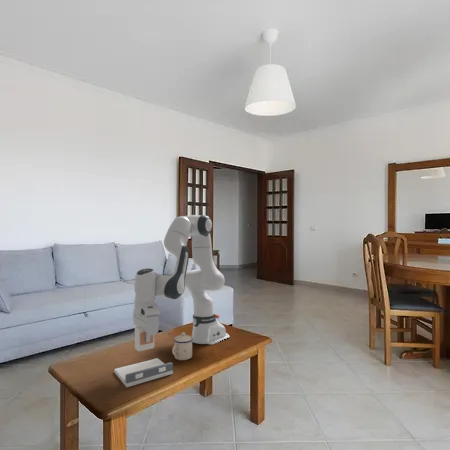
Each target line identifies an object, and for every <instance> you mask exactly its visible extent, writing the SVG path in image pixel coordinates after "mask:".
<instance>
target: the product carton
mask: <svg viewBox="0 0 450 450" xmlns="http://www.w3.org/2000/svg"><path fill="white" fill-rule="evenodd" d="M145 337H146V332H145V331H143V329H142V328H140V327H139V326H138V327H137V326H135V327H134V349H135V350H136V351H137V352H143V351H146V350H151V349H155V334H153V335H151V337H150V342H146V341H145Z"/></svg>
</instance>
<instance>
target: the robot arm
mask: <svg viewBox="0 0 450 450" xmlns="http://www.w3.org/2000/svg"><path fill="white" fill-rule="evenodd" d="M168 227H169V228H168V230H166V231H167V232H166V234H165V236H164V239H163V246H164V248H165V249H166V251H167V252H169V253H170V254H171V255H173V256H175V257H176V261H175V266H174V271H173V273H172V274H171V275H169V274H168V275H167V274H166V275H163V274H159V273H157V272H155V270H154V268H142V269H139V270H138V271H137V272H136V274H135V277H134V294H135V296H134V300H133V301H134V302H133V303H134V305H133V307H134V308H133V312H132V315H133V316H132V324H133V325H135V327H138V326H139V327H140V328H142V329H143V331H145V332H146V337H145V341H146V342H150V337H151V335H153V334H154V335H157V334H158V333H159V330H160V329H159V328H160V317H159V315H160V314H161V311H160V308H159V307H158V305H157V302H156V297H161V298H167V299H172V300H177V299H179V298H180V297H181V296H182V295H183V294H184V292H185V289H186V288H187V290H188V291H189V293H190V294H191V295H190V296H191V298H192V303H193V304H192V305H193V314H192V325H193V327H192V333H191V337H192V338H193V340H192V343H194V344H200V345H211V346H212V345H215V344H219V343H220V341H221V342H223V341H225V340H224V339H226V340H228V339H227V338H229V337H230V335H229V333H227V331H226V327H225V325H223V324H222V323H220V321H218V320H217V319H219V318H220V314H216V313H214V300H213V298H212V297H210V296H209V295H208V293H207V292H206V291H209V292H217V291H220V290H222V289H223V288H224V286H225V283H226V281H225V280H226V279H225V276H224V274H223V273H222V272H221V271H220V270H219V269H218V268H217V266H216V264H215V262H214V258H213V249H212V237H211V231H212V229H213V221H212V219H211V218H210V217H209V216H208V215H203V214H201V215H199V214H190V215H181V216H177V217H175V218H174V219H173V221H172V222H171V224H170V226H168ZM189 237H191V251H192V256H191V258H192V261H193V263H194V264H196V265H197V266H198V268H200V269H192V270H191V269H190V270H187V269H188V265H189V260H190V259H189V258H190V249H189V246H188V241H189ZM230 338H231V337H230ZM230 338H229V339H230ZM222 340H223V341H222Z"/></svg>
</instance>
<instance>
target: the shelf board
mask: <svg viewBox="0 0 450 450" xmlns="http://www.w3.org/2000/svg"><path fill="white" fill-rule="evenodd" d="M114 374H115V375H116V376H117V378H119V380H120V381H121V383H122V384H123V385H124V386H125V388H130V387H132V386H133V387H134V386H136V385H139V384H142V383H145V382H149V381H152V380H157V379H160V378H163V377H167V376H169V375H173V374H174V363H173V362H171V361H170V362H167V363H165V362H163V361H162V360H161V359H160V358H159V357H158V358H157V357H156V358H153V359H149V360H145V361H141V362H136V363H133V364H129V365H125V366H120V367H117V368H114Z"/></svg>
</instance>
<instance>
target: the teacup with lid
mask: <svg viewBox="0 0 450 450" xmlns="http://www.w3.org/2000/svg"><path fill="white" fill-rule="evenodd" d="M192 340H193V338H192V335H188V334H186V332H184V331H183V332H181V334H179V335H177V336H175V337H174V339H173V344H174V345H173V347H172V350H171V351H172V352H171V353H172V355H174V358H175V360H178V361H186V360H189V359H191V358H192V357H193V342H192Z"/></svg>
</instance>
